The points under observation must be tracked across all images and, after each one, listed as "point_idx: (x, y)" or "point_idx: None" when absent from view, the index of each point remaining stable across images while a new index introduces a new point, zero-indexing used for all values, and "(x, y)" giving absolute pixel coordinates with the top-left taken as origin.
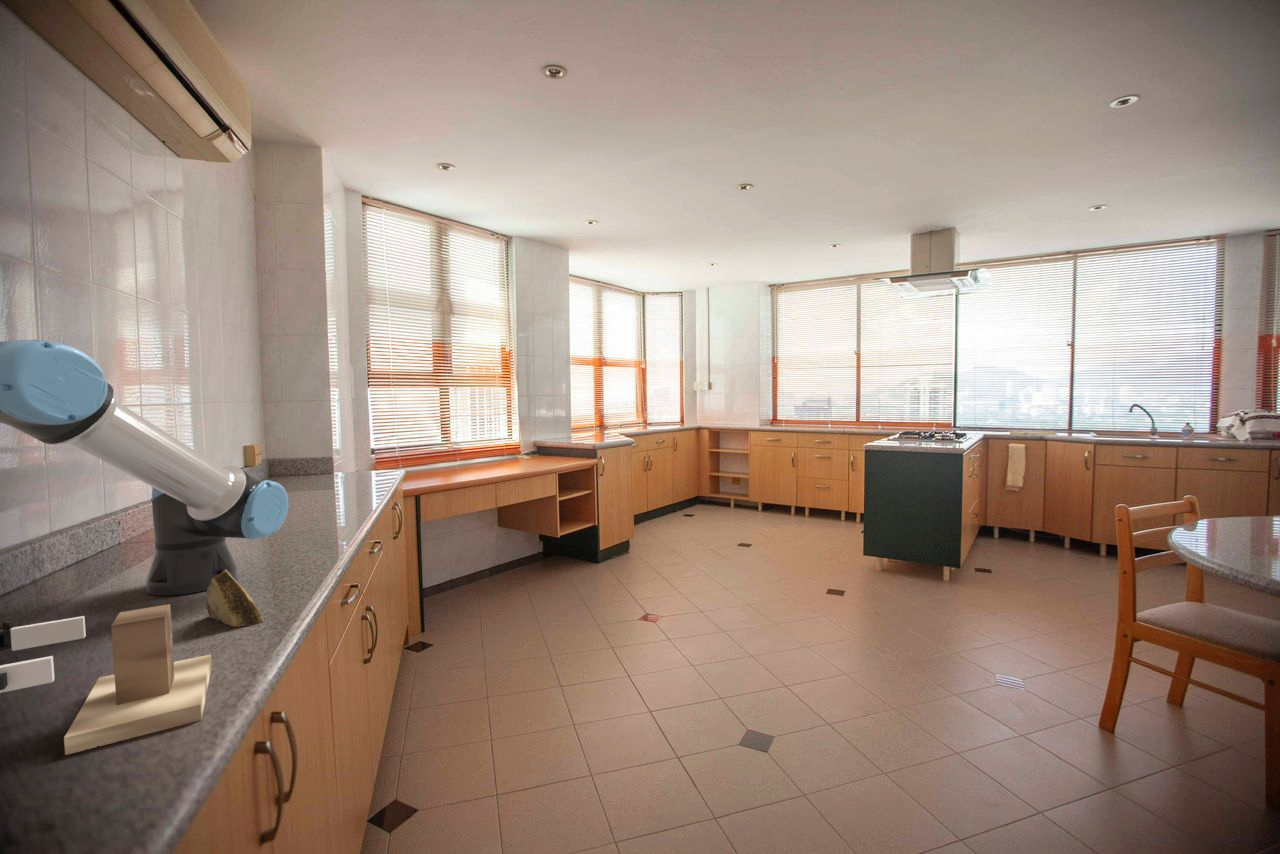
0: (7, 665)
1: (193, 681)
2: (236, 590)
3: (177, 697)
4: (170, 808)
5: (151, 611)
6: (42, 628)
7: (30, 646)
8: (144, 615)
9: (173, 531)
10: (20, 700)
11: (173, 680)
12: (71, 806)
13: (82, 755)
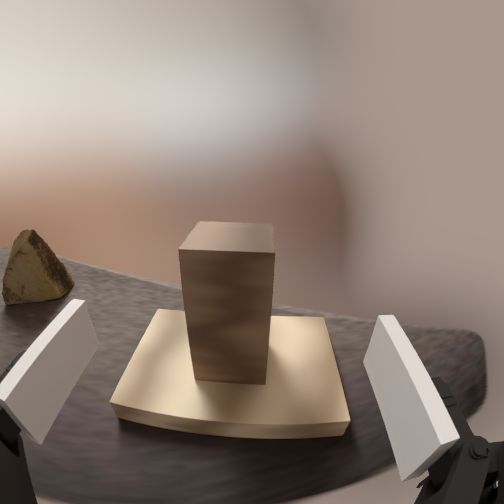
0: (416, 370)
1: None
2: (47, 252)
3: (288, 333)
4: (456, 330)
5: (223, 230)
6: (47, 361)
7: (54, 414)
8: (244, 232)
9: None
10: (45, 488)
11: None
12: (450, 388)
13: (352, 417)
